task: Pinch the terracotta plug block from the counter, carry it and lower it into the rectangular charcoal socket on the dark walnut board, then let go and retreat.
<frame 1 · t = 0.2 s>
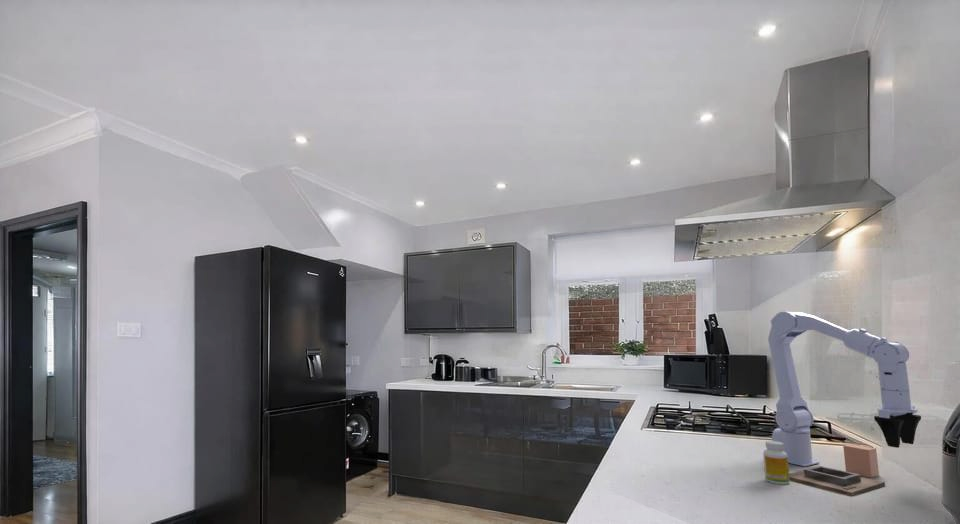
hand: (900, 445, 124), 10 cm above the countertop, tool pointing down, fingers open, 7 cm apart
supplement bottle: (777, 482, 126), on the countertop
plug block: (862, 473, 133), on the countertop
socket board: (832, 481, 126), on the countertop
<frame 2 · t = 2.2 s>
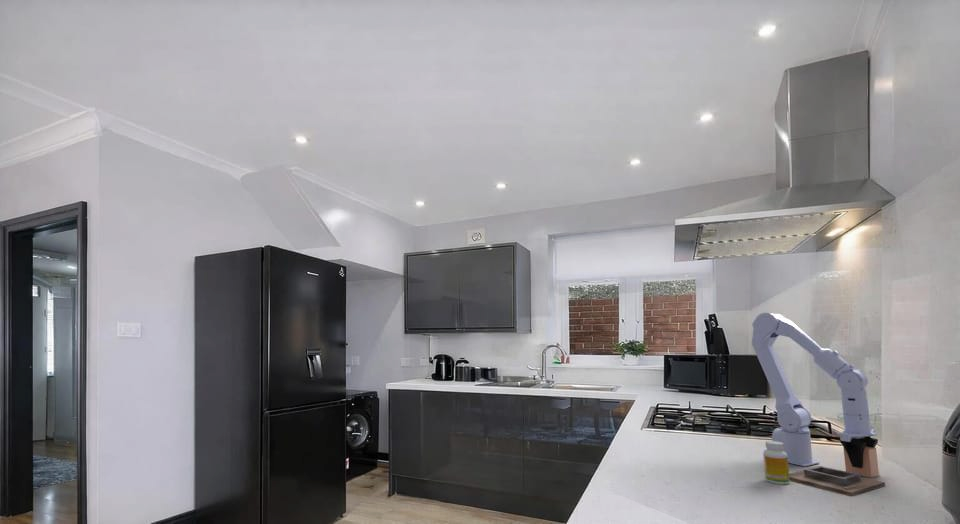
hand: (861, 466, 133), 2 cm above the countertop, tool pointing down, fingers closed on plug block, 4 cm apart
plug block: (862, 473, 133), on the countertop, touching gripper
everything else where it was.
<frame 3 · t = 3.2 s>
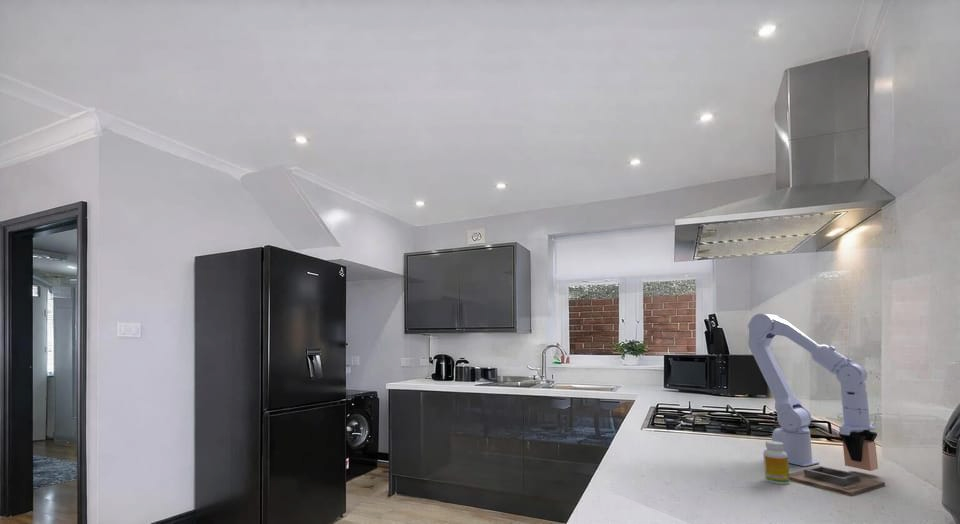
hand: (860, 459, 133), 4 cm above the countertop, tool pointing down, fingers closed on plug block, 4 cm apart
plug block: (861, 467, 133), point 2 cm above the countertop, touching gripper
everything else where it was.
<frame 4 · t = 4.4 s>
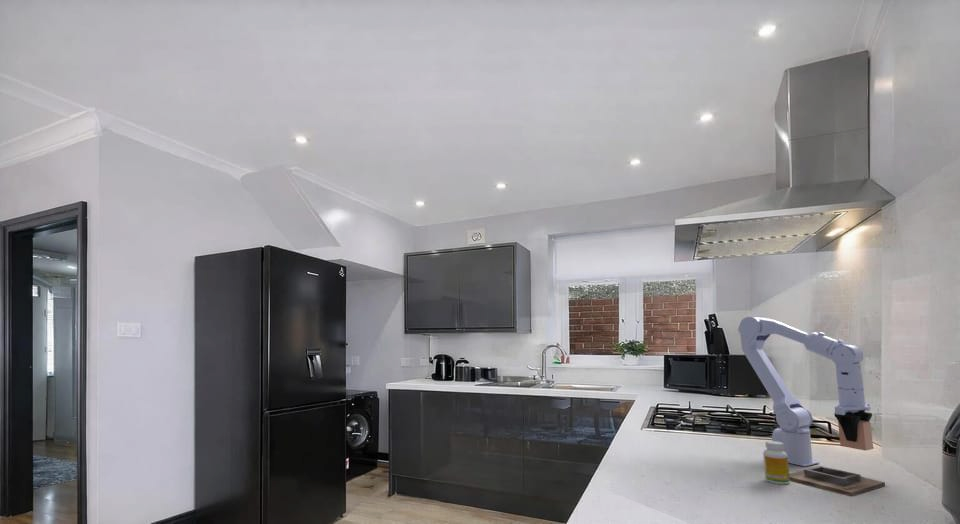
hand: (855, 440, 133), 9 cm above the countertop, tool pointing down, fingers closed on plug block, 4 cm apart
plug block: (856, 447, 133), point 7 cm above the countertop, touching gripper
everything else where it was.
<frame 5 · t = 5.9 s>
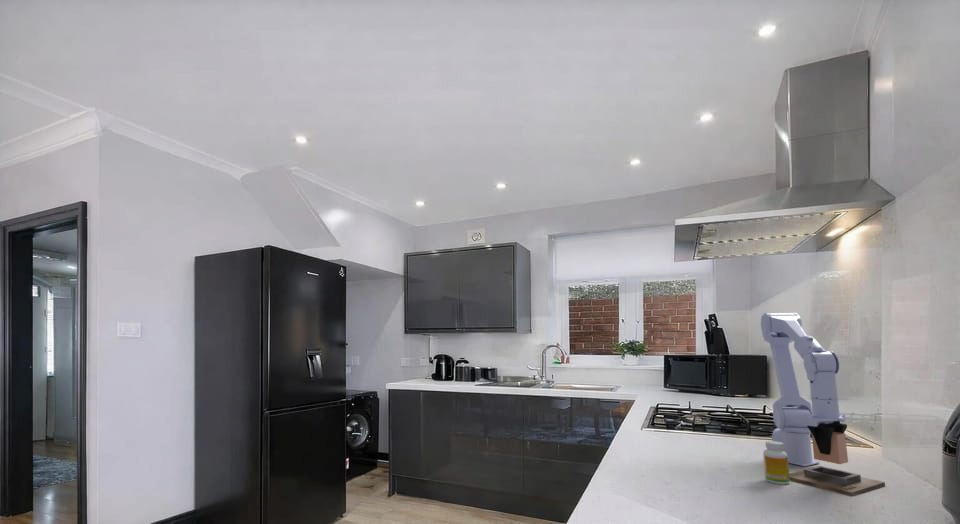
hand: (829, 452, 127), 7 cm above the countertop, tool pointing down, fingers closed on plug block, 4 cm apart
plug block: (830, 460, 126), point 5 cm above the countertop, touching gripper
everything else where it was.
when the fingers open (4 cm above the countertop, at t = 7.0 s): plug block stays where it is, resting on socket board.
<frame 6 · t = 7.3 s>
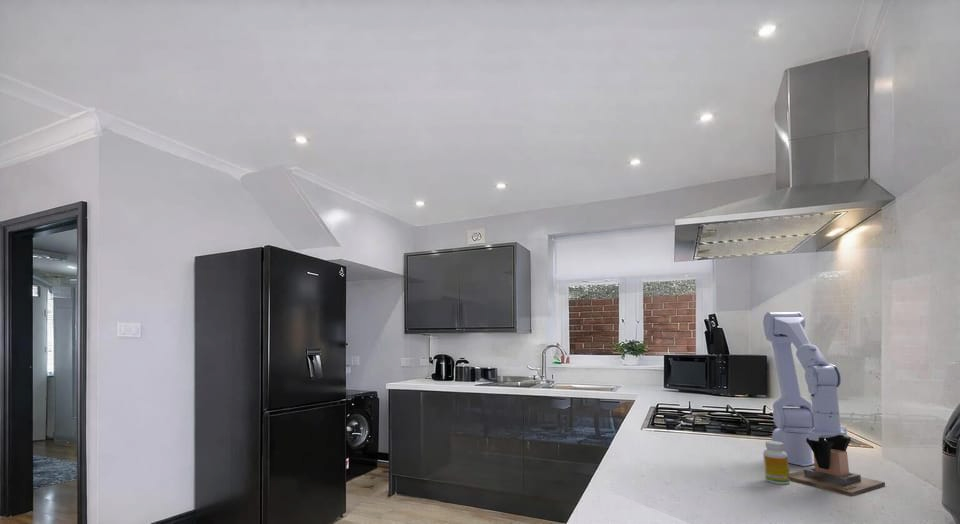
hand: (831, 466, 126), 4 cm above the countertop, tool pointing down, fingers open, 6 cm apart
plug block: (832, 478, 126), point 1 cm above the countertop, touching socket board
everything else where it was.
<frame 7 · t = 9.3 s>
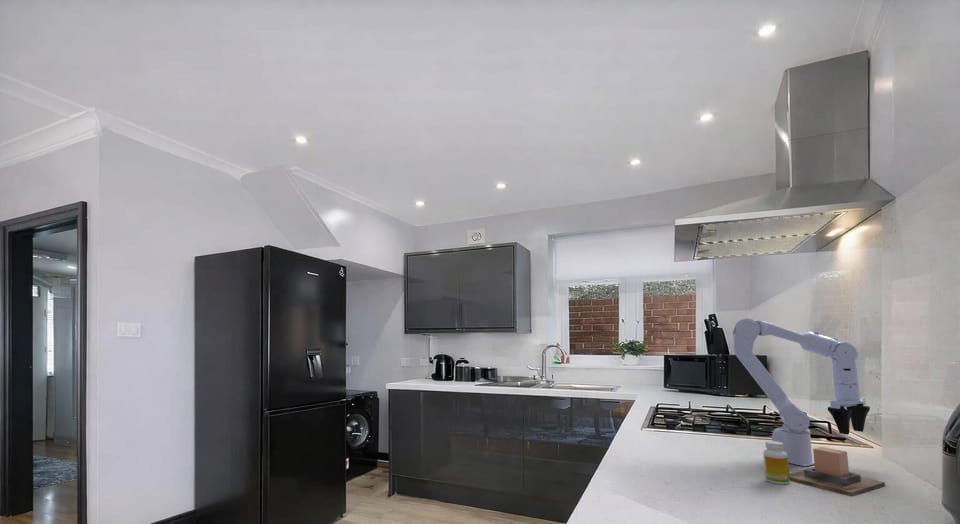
hand: (851, 432, 140), 9 cm above the countertop, tool pointing down, fingers open, 7 cm apart
nothing on the countertop moved.
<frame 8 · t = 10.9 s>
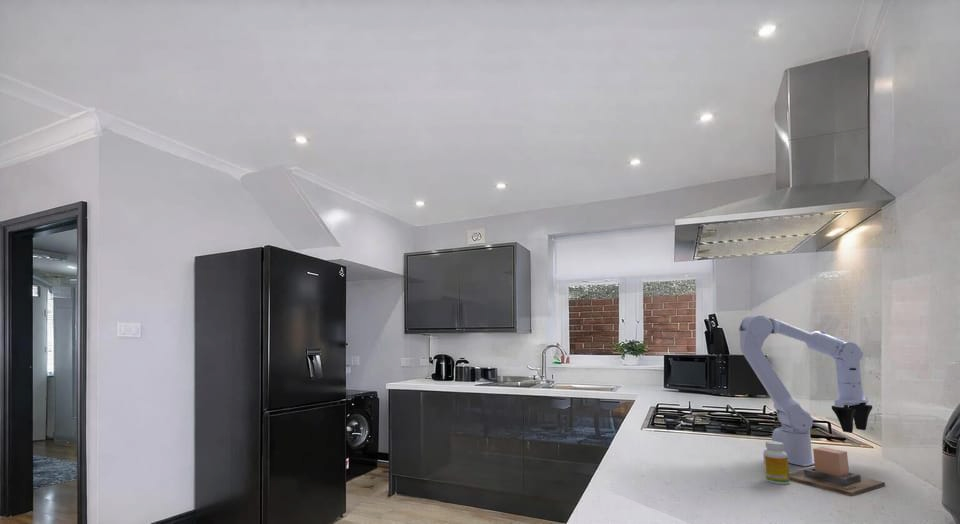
hand: (854, 430, 143), 9 cm above the countertop, tool pointing down, fingers open, 7 cm apart
nothing on the countertop moved.
at the end: plug block 0.1 cm off-centre on the socket board, point 0.8 cm above the socket board's base; plug block tilted 0°; the gripper is holding nothing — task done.
